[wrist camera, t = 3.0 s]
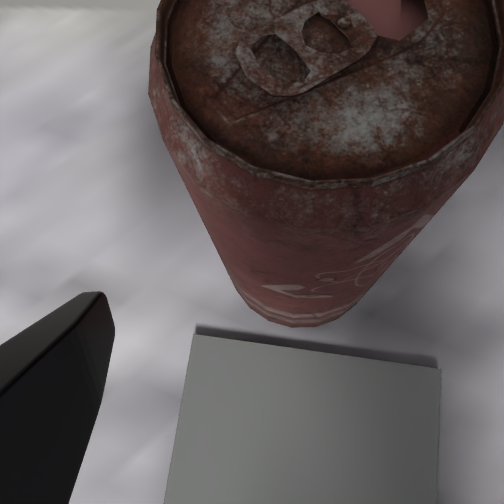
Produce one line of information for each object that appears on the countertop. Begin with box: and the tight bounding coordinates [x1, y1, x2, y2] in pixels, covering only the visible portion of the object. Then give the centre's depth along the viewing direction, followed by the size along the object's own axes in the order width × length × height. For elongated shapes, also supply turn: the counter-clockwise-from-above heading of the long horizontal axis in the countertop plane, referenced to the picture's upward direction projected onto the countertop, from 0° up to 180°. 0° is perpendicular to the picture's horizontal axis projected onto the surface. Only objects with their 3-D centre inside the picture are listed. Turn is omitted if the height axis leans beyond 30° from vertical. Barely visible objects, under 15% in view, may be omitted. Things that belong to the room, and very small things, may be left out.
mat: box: [164, 334, 441, 504], centre depth 18 cm, size 10×10×1 cm
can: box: [148, 0, 504, 328], centre depth 14 cm, size 6×6×14 cm
